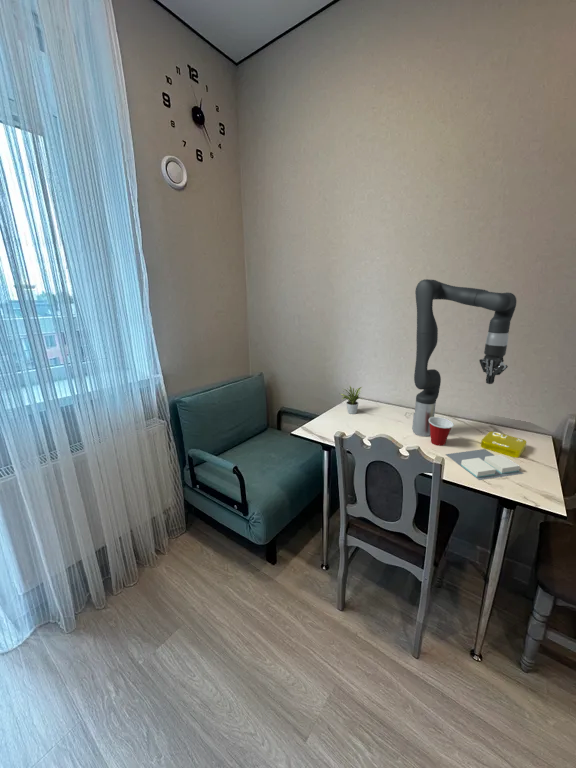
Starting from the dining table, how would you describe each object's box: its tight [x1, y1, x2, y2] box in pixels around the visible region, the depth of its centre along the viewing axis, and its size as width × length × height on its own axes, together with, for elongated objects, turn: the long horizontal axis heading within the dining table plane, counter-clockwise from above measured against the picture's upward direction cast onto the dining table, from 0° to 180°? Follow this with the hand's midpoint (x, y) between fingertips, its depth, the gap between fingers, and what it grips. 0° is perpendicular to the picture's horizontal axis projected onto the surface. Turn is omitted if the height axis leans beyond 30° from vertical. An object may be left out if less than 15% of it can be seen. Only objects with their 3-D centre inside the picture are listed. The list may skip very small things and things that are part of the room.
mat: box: [445, 448, 524, 481], centre depth 133 cm, size 20×20×1 cm
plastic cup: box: [429, 416, 455, 447], centre depth 149 cm, size 11×11×12 cm
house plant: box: [340, 386, 363, 415], centre depth 190 cm, size 14×14×16 cm
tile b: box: [484, 454, 521, 474], centre depth 130 cm, size 2×8×9 cm
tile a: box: [460, 458, 496, 479], centre depth 128 cm, size 2×8×9 cm
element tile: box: [480, 431, 527, 459], centre depth 146 cm, size 15×15×5 cm
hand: (489, 383), depth 135 cm, fingers closed
